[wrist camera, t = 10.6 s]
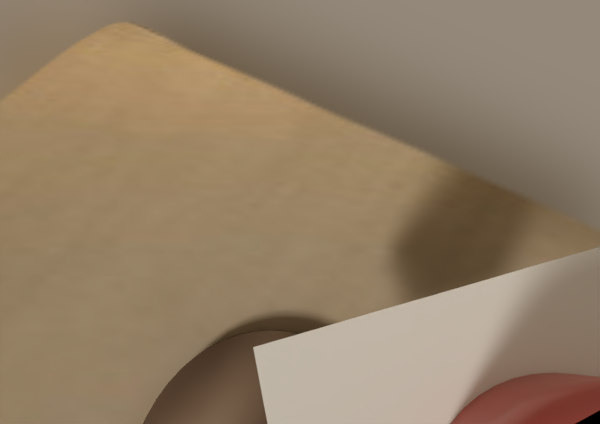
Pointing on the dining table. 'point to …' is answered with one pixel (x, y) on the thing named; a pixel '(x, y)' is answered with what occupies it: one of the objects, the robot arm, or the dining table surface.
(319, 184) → the dining table surface
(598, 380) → the square squeeze bottle
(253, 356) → the walnut serving board
